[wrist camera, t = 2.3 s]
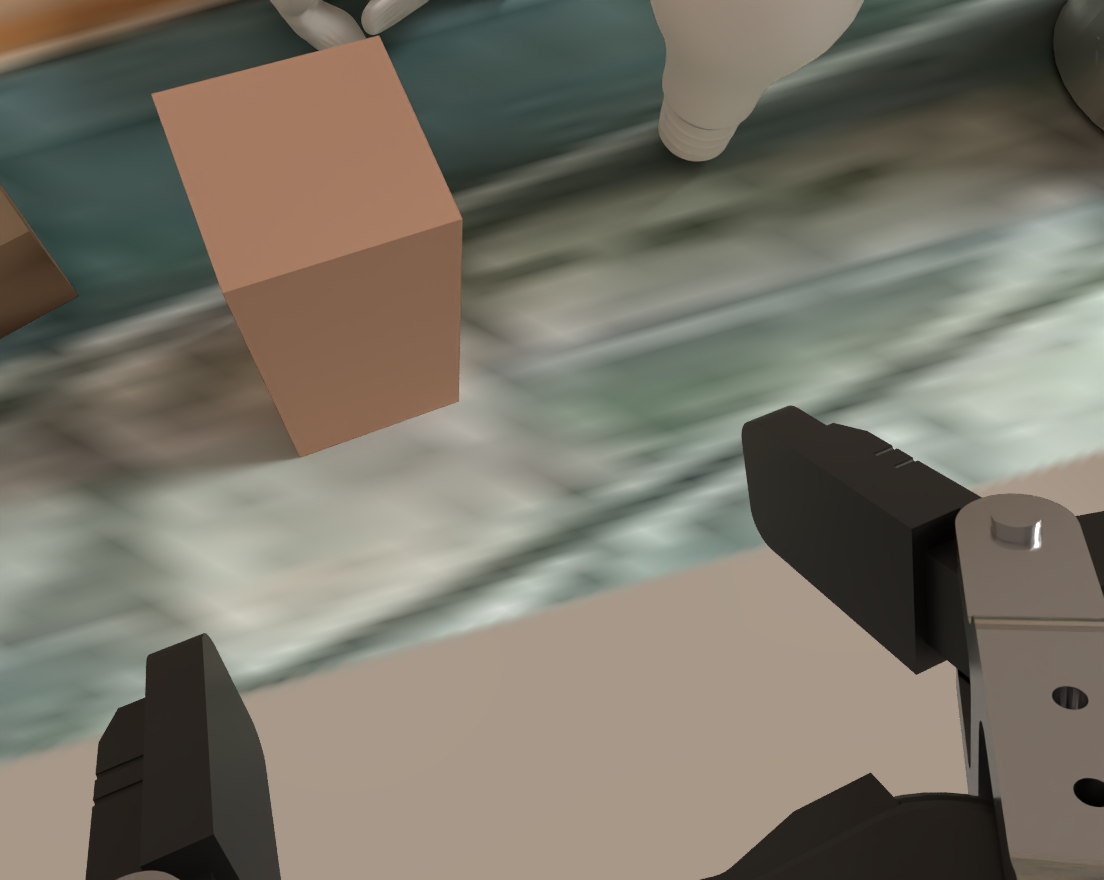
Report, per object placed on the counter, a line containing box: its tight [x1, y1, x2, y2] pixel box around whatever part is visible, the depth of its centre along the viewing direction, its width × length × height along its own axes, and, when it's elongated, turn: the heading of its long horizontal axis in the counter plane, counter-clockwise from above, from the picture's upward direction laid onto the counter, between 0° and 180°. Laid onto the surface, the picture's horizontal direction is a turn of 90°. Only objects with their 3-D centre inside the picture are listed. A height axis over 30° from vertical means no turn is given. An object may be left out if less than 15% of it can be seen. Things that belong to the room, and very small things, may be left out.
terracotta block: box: [151, 36, 463, 457], centre depth 24 cm, size 5×5×10 cm
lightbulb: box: [650, 0, 864, 161], centre depth 28 cm, size 6×6×11 cm
